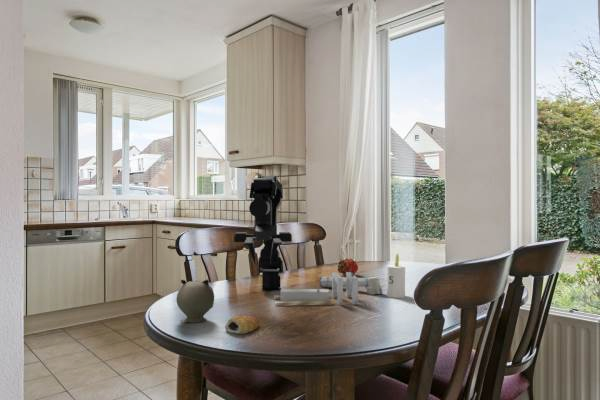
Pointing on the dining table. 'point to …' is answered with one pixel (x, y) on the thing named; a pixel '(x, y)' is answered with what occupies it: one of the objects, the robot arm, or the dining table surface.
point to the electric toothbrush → (369, 283)
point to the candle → (396, 280)
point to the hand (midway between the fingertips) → (263, 263)
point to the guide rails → (302, 302)
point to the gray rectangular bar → (304, 295)
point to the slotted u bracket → (350, 287)
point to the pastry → (242, 324)
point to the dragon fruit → (347, 266)
